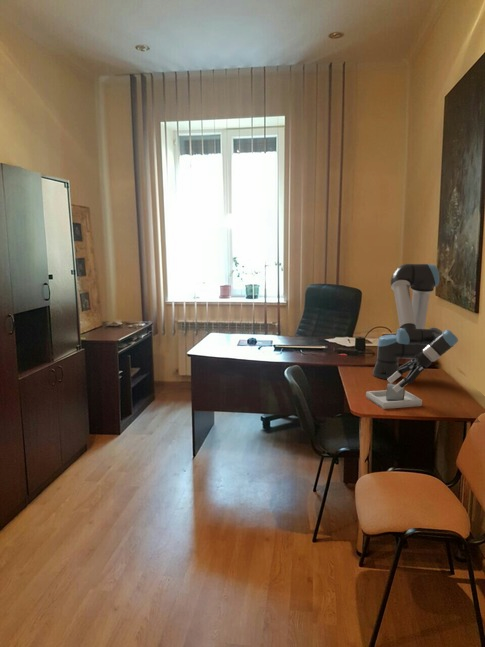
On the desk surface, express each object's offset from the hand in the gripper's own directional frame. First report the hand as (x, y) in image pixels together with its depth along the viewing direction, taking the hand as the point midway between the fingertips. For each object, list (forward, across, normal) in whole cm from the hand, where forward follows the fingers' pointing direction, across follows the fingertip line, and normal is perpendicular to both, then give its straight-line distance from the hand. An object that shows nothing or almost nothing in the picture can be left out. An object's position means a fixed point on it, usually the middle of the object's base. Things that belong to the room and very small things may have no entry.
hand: (391, 386), depth 219 cm
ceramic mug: (+4, +1, -6) cm, 7 cm away
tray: (+5, 0, -6) cm, 8 cm away
